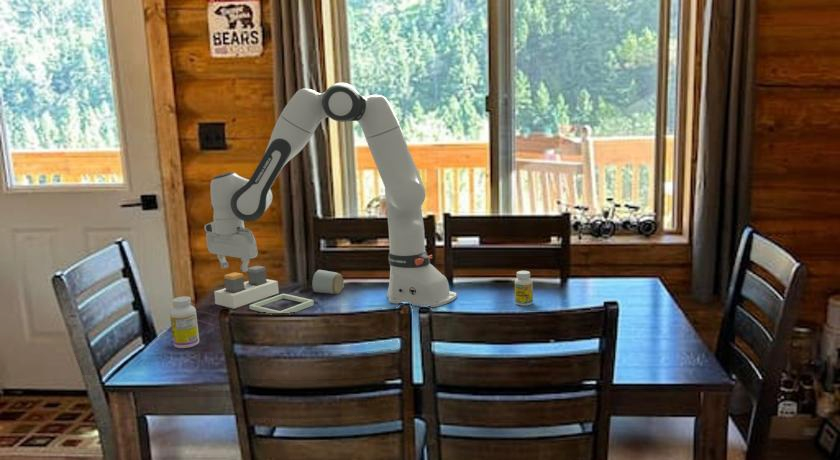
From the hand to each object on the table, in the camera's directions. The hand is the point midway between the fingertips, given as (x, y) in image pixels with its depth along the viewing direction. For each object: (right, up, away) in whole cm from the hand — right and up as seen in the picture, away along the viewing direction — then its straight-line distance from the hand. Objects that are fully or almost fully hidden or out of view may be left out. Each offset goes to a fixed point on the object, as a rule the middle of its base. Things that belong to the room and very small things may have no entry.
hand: (234, 269), depth 224 cm
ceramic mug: (+28, -8, +12) cm, 32 cm away
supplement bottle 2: (+89, -10, -7) cm, 89 cm away
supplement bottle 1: (-5, -19, -30) cm, 36 cm away
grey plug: (0, -10, +2) cm, 11 cm away
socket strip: (+3, -10, +6) cm, 12 cm away
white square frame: (+15, -12, -4) cm, 20 cm away
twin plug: (+5, -9, +9) cm, 14 cm away
